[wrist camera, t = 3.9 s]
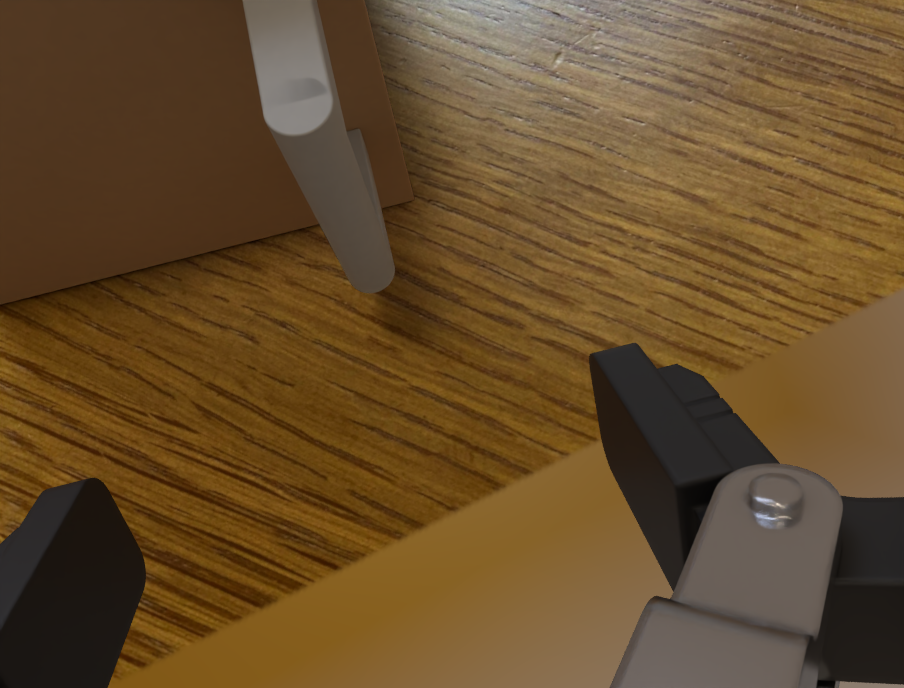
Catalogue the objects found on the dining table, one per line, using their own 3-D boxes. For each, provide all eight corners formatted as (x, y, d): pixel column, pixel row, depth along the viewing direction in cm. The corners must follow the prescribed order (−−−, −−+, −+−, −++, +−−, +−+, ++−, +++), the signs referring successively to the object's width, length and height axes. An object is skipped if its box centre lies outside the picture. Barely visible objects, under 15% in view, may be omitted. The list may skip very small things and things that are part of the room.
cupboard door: (445, 319, 28) (373, 33, 14) (-4, 432, 28) (-544, 265, 14) (409, 179, 30) (315, -196, 16) (-9, 285, 30) (-484, 5, 16)
